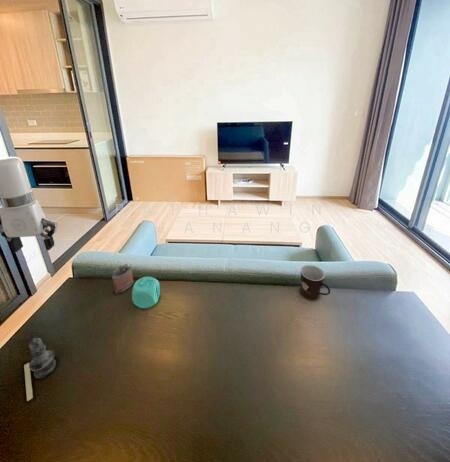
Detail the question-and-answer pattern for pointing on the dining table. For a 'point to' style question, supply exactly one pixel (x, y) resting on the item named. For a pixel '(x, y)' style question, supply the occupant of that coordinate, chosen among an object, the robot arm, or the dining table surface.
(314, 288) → the coffee mug
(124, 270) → the lighter
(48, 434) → the dining table surface
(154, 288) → the decorative dice
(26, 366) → the beige long thin bar
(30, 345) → the dark grey chess piece
